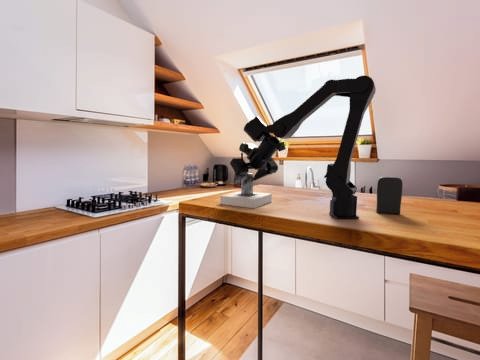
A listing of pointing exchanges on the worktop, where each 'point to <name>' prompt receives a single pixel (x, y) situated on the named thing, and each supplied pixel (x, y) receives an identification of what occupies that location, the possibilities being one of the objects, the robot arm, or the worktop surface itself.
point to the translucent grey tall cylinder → (247, 185)
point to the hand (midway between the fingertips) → (244, 180)
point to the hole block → (246, 199)
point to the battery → (389, 195)
